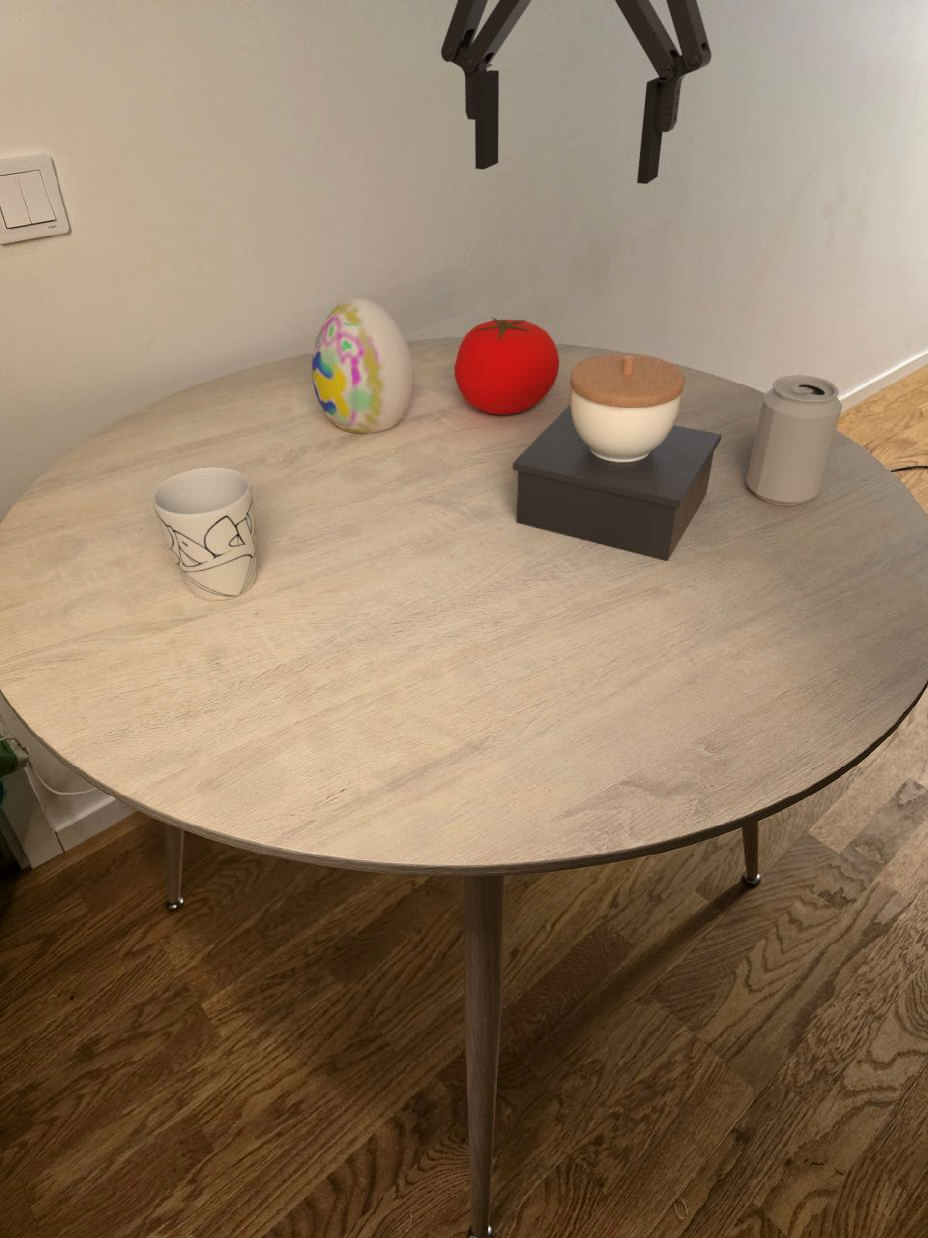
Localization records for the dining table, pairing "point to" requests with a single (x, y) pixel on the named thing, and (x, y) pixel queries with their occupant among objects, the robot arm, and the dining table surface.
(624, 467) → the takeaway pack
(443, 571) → the dining table surface
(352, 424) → the decorative egg
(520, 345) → the tomato
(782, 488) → the can
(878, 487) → the dining table surface
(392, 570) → the dining table surface
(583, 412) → the lidded bowl
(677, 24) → the robot arm
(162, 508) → the mug
